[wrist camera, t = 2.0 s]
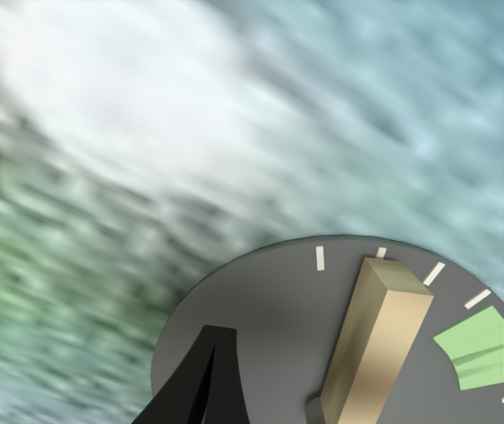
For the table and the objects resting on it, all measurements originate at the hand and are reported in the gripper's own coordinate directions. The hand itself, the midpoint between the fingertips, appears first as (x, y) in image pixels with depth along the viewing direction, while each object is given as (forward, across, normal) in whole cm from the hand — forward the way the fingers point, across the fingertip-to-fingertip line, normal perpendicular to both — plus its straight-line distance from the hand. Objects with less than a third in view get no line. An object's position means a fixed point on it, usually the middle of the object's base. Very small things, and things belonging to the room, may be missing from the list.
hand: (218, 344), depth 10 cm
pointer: (+2, -7, +2) cm, 7 cm away
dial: (+3, -6, +6) cm, 9 cm away
